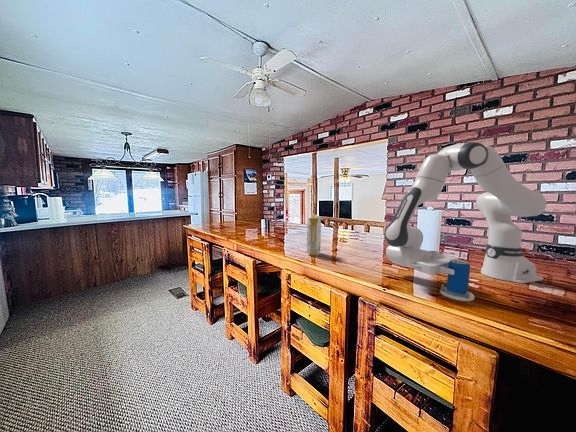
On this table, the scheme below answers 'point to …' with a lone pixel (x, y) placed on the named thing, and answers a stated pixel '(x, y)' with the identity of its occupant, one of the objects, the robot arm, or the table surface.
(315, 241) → the juice carton
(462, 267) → the beverage can
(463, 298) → the pin cradle
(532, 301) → the table surface
